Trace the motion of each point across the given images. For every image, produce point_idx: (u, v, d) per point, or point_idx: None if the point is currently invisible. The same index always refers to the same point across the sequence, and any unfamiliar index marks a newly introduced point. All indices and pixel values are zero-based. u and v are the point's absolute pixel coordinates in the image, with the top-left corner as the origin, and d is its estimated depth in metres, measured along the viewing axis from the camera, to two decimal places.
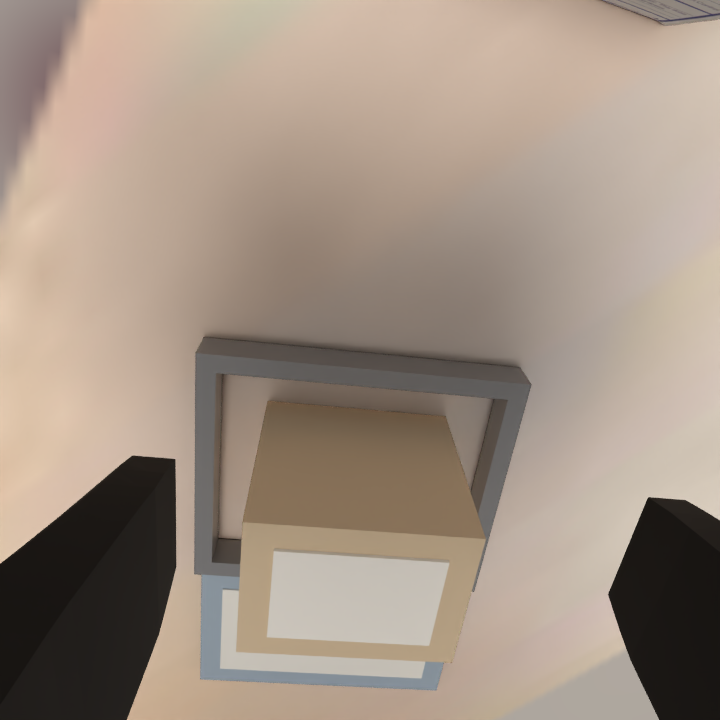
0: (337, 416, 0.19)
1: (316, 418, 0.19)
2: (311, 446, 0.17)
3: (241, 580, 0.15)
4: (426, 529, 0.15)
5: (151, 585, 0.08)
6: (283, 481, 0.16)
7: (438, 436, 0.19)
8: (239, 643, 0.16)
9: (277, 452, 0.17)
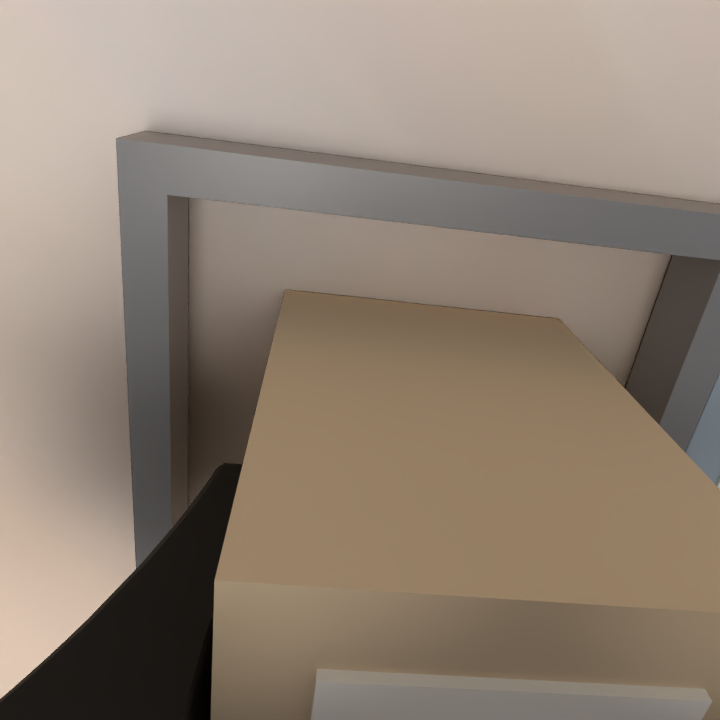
0: None
1: None
2: None
3: None
4: (215, 699, 0.05)
5: None
6: None
7: None
8: None
9: None
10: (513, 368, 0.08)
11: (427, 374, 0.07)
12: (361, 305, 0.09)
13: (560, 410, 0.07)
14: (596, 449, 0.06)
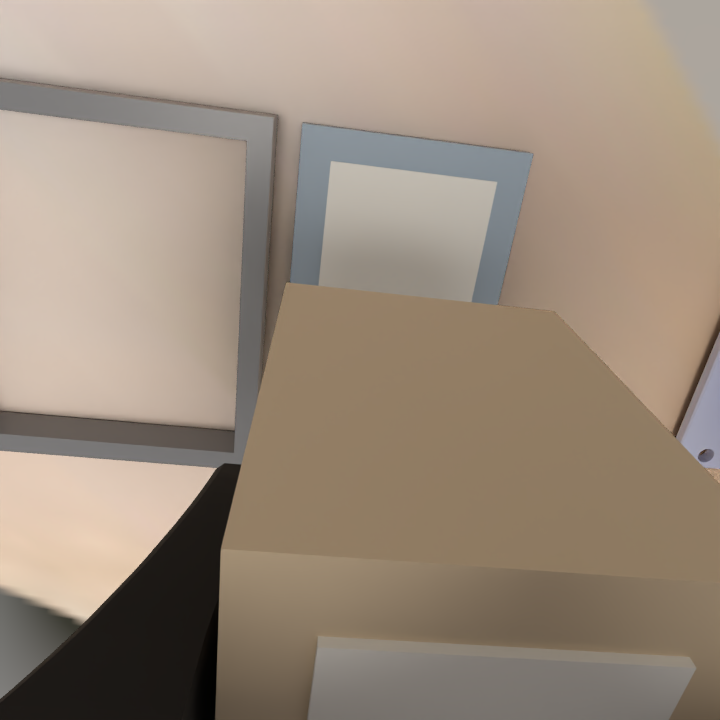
0: None
1: None
2: None
3: None
4: (219, 667, 0.05)
5: None
6: None
7: None
8: None
9: None
10: (509, 356, 0.08)
11: (425, 362, 0.07)
12: (361, 297, 0.09)
13: (554, 396, 0.07)
14: (589, 432, 0.06)
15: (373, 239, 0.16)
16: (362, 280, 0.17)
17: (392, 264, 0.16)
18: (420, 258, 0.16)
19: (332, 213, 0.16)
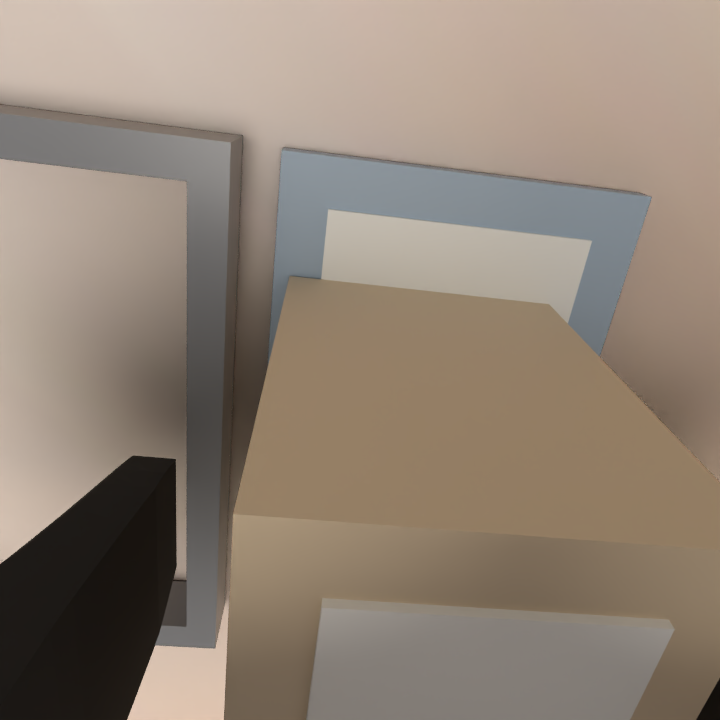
0: None
1: None
2: None
3: None
4: (230, 630, 0.05)
5: (151, 585, 0.08)
6: None
7: None
8: None
9: None
10: (504, 347, 0.08)
11: (423, 350, 0.08)
12: (361, 290, 0.10)
13: (546, 382, 0.07)
14: (578, 415, 0.07)
15: None
16: None
17: None
18: None
19: None
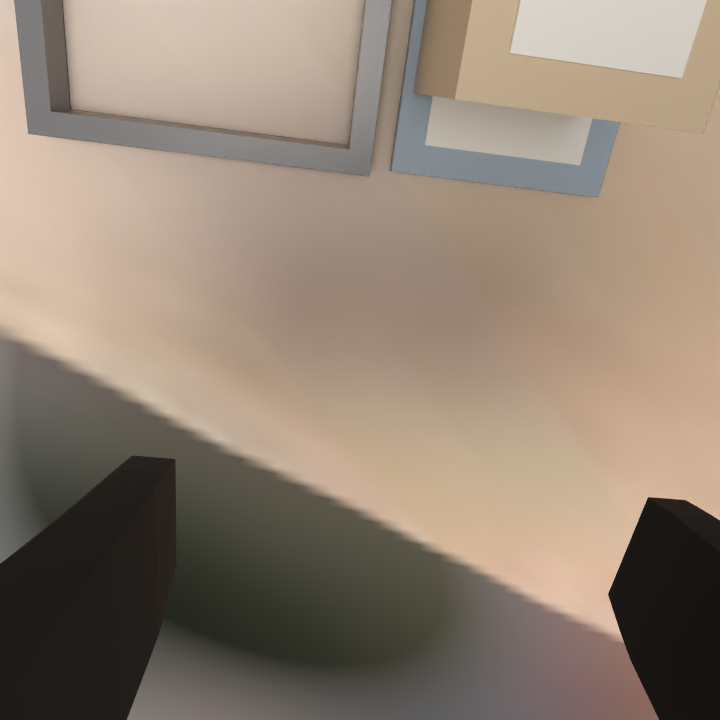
0: None
1: (428, 18, 0.14)
2: (439, 16, 0.13)
3: (561, 110, 0.10)
4: None
5: (151, 585, 0.08)
6: (447, 48, 0.11)
7: None
8: (684, 126, 0.10)
9: (434, 65, 0.13)
10: None
11: None
12: None
13: None
14: None
15: None
16: None
17: None
18: None
19: None
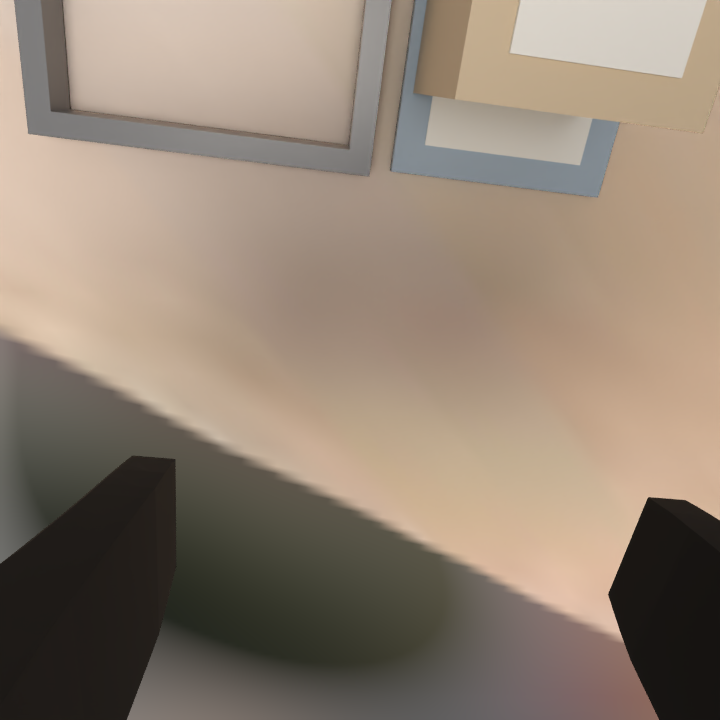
0: None
1: (428, 18, 0.14)
2: (439, 16, 0.13)
3: (561, 110, 0.10)
4: None
5: (151, 585, 0.08)
6: (447, 48, 0.11)
7: None
8: (684, 126, 0.10)
9: (434, 65, 0.13)
10: None
11: None
12: None
13: None
14: None
15: None
16: None
17: None
18: None
19: None
